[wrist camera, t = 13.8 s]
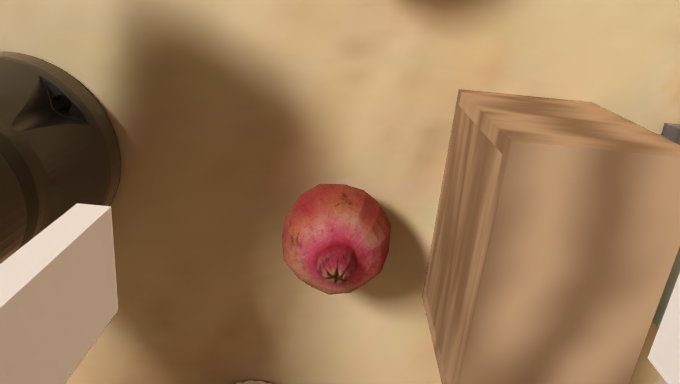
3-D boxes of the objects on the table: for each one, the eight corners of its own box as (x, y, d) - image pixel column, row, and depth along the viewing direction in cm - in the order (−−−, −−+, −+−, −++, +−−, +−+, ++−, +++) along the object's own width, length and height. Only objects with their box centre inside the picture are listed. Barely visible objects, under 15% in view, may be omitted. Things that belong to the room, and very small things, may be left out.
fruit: (347, 147, 41) (346, 195, 32) (406, 223, 43) (421, 289, 34) (268, 204, 43) (245, 265, 34) (328, 274, 45) (322, 349, 36)
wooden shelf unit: (422, 296, 46) (450, 421, 33) (458, 89, 39) (511, 141, 26) (675, 320, 46) (803, 452, 33) (753, 118, 39) (951, 183, 26)
